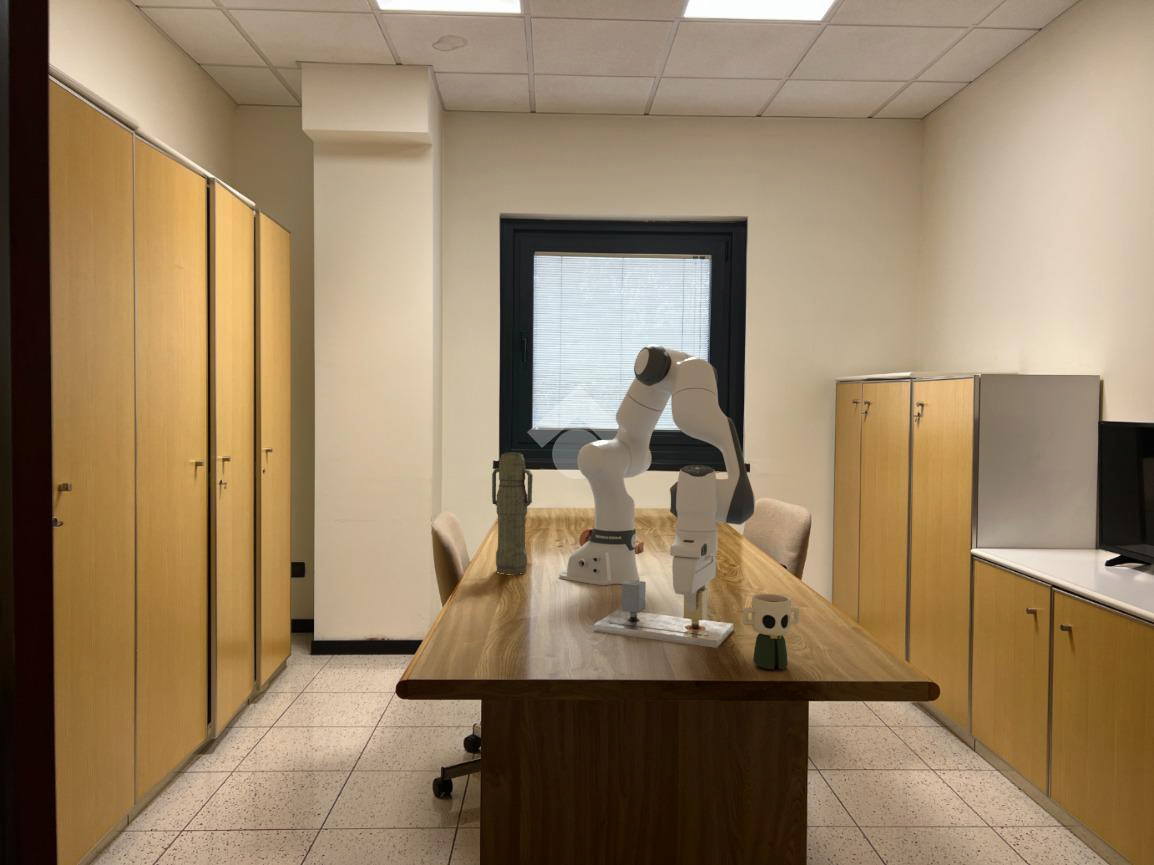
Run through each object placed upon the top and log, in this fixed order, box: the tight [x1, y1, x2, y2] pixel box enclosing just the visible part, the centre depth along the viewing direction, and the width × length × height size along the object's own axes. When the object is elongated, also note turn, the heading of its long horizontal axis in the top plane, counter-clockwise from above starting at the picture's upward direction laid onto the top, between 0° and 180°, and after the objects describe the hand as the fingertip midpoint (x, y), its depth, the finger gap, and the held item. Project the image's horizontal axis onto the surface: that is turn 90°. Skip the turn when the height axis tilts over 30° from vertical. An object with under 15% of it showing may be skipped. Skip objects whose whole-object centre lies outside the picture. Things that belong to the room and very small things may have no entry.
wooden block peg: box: [683, 587, 708, 628], centre depth 169 cm, size 4×4×8 cm
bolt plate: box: [593, 580, 734, 649], centre depth 172 cm, size 27×14×10 cm, turn 65°
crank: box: [578, 527, 645, 554], centre depth 266 cm, size 20×8×8 cm, turn 65°
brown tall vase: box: [491, 451, 534, 575], centre depth 229 cm, size 9×12×35 cm
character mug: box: [742, 593, 800, 670], centre depth 148 cm, size 11×7×13 cm, turn 97°
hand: (695, 607), depth 169 cm, fingers closed on wooden block peg, 4 cm apart
